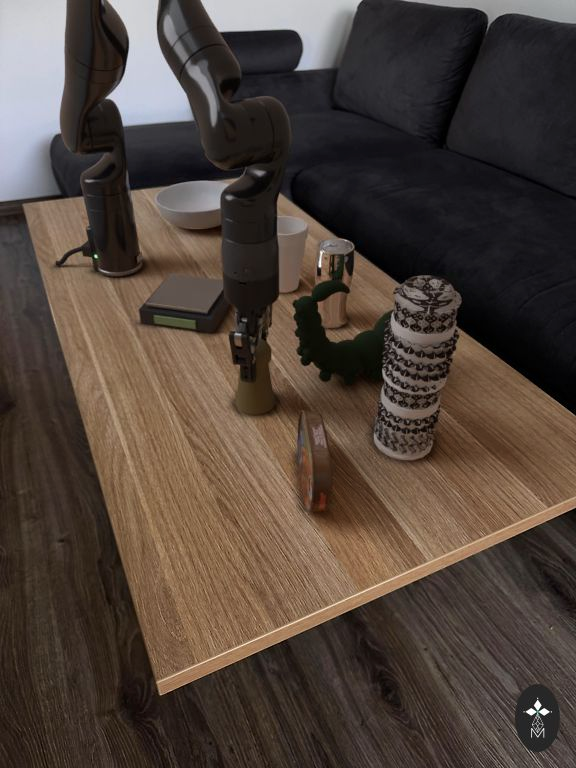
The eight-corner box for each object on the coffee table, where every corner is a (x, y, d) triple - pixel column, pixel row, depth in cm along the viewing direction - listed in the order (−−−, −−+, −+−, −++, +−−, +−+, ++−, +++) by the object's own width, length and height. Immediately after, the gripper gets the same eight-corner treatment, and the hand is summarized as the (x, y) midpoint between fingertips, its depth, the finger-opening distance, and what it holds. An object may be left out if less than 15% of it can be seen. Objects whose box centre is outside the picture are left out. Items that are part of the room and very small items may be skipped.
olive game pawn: (281, 396, 93) (281, 337, 86) (263, 419, 89) (262, 359, 82) (247, 386, 95) (244, 328, 88) (228, 408, 91) (224, 348, 84)
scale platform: (145, 306, 108) (145, 302, 108) (171, 276, 118) (170, 273, 117) (207, 314, 106) (207, 311, 106) (228, 284, 115) (228, 280, 115)
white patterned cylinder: (399, 471, 80) (427, 312, 65) (358, 432, 86) (374, 278, 71) (448, 447, 84) (486, 291, 69) (405, 411, 90) (431, 261, 75)
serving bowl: (172, 204, 157) (169, 178, 153) (249, 209, 155) (248, 182, 151) (146, 236, 141) (142, 207, 137) (232, 241, 139) (231, 213, 134)
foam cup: (270, 300, 117) (269, 238, 109) (253, 279, 124) (251, 220, 116) (313, 290, 120) (316, 230, 112) (294, 271, 127) (295, 212, 119)
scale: (140, 324, 109) (137, 310, 108) (170, 288, 121) (168, 274, 119) (211, 334, 107) (210, 320, 105) (235, 296, 118) (235, 283, 116)
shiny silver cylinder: (346, 331, 108) (353, 256, 99) (309, 327, 109) (312, 252, 100) (351, 312, 113) (357, 239, 104) (315, 308, 115) (318, 235, 105)
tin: (295, 442, 85) (296, 397, 79) (317, 441, 85) (319, 396, 80) (307, 526, 73) (309, 479, 68) (332, 525, 73) (336, 477, 68)
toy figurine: (307, 406, 94) (456, 377, 96) (299, 303, 82) (469, 273, 84) (295, 371, 101) (434, 345, 104) (285, 272, 89) (443, 245, 92)
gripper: (239, 240, 84) (244, 340, 94) (204, 287, 73) (214, 394, 83) (291, 245, 82) (289, 346, 93) (263, 294, 71) (265, 403, 82)
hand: (254, 369), depth 88 cm, fingers closed on olive game pawn, 5 cm apart
